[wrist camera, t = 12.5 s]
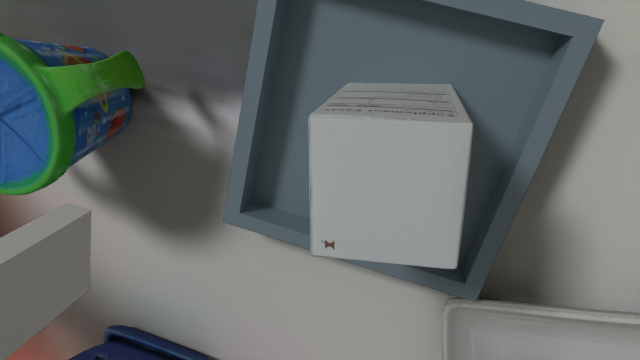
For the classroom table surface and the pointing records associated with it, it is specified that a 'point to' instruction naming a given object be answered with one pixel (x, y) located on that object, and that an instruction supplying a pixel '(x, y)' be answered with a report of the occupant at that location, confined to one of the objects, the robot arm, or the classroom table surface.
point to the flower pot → (136, 347)
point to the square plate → (536, 332)
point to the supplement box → (389, 174)
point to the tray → (410, 68)
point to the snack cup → (58, 108)
